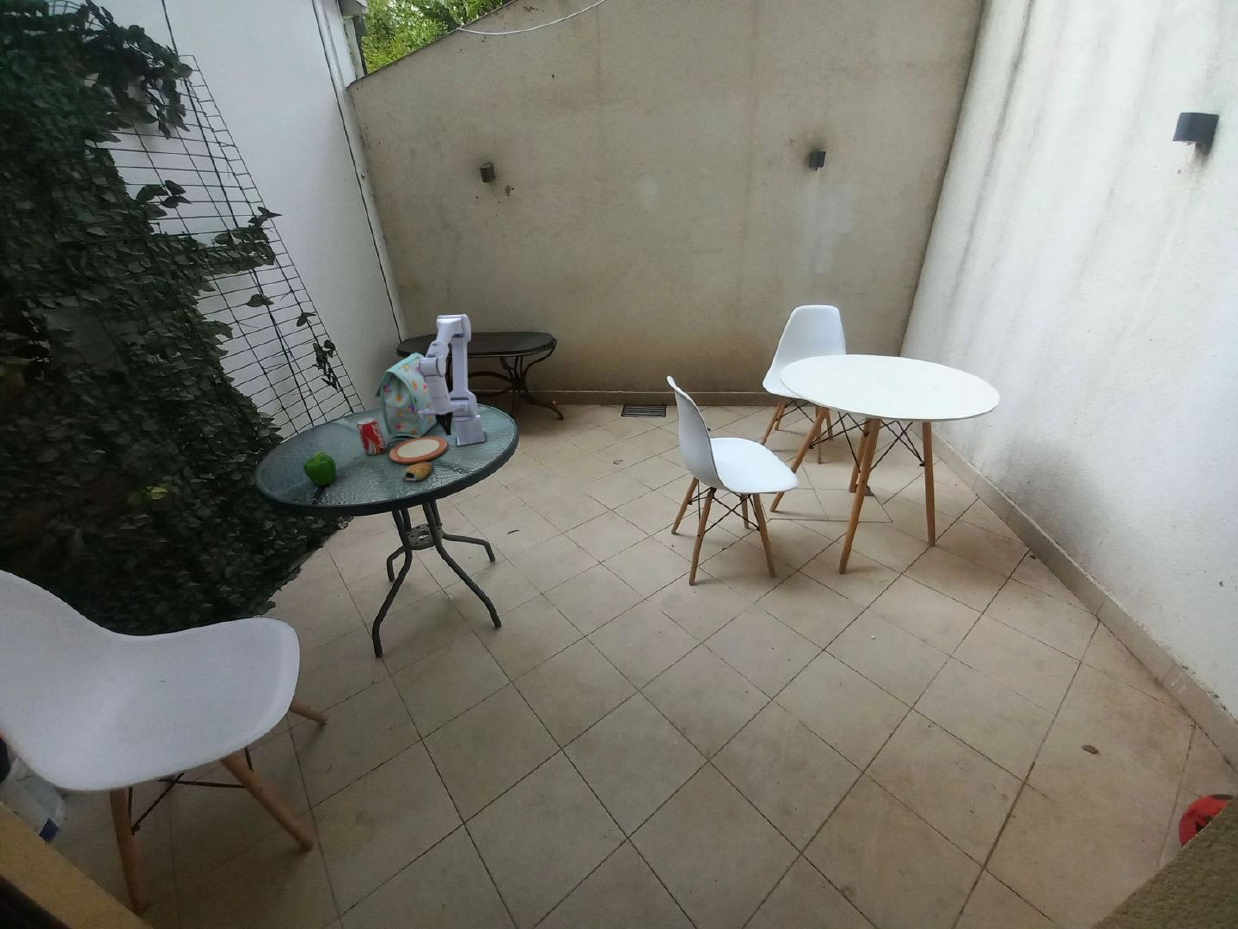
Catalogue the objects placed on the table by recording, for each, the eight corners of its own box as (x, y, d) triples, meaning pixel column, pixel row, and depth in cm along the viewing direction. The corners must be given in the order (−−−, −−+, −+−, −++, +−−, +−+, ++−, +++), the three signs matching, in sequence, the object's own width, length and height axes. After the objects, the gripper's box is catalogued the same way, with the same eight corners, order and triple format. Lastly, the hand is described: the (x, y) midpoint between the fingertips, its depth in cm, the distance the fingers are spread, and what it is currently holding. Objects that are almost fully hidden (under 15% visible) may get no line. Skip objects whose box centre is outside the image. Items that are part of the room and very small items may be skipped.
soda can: (379, 456, 166) (368, 424, 160) (361, 455, 167) (350, 424, 161) (390, 447, 172) (381, 416, 166) (373, 446, 173) (362, 416, 167)
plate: (447, 436, 177) (446, 432, 177) (447, 458, 161) (446, 454, 161) (393, 445, 173) (392, 441, 172) (387, 469, 157) (386, 465, 156)
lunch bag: (415, 414, 198) (397, 350, 185) (452, 415, 196) (437, 350, 183) (384, 439, 178) (361, 369, 165) (425, 439, 176) (405, 369, 163)
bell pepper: (309, 490, 147) (296, 462, 142) (312, 478, 154) (300, 451, 149) (339, 484, 150) (328, 456, 145) (341, 472, 157) (330, 445, 152)
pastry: (421, 466, 158) (418, 456, 156) (438, 468, 156) (435, 458, 154) (402, 480, 150) (398, 470, 148) (420, 483, 148) (417, 472, 146)
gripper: (414, 403, 145) (425, 443, 151) (463, 395, 148) (472, 435, 155) (415, 395, 150) (426, 434, 157) (462, 388, 154) (471, 426, 161)
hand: (448, 434), depth 156 cm, fingers closed
